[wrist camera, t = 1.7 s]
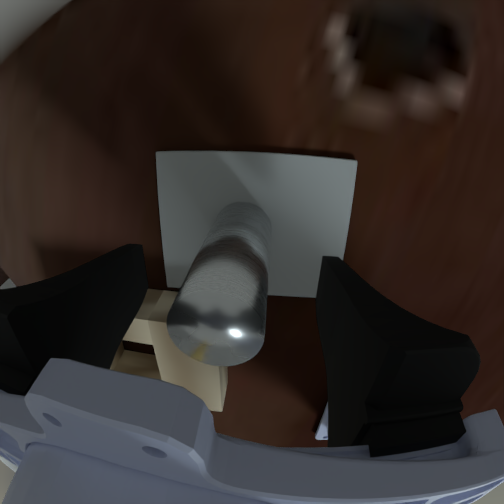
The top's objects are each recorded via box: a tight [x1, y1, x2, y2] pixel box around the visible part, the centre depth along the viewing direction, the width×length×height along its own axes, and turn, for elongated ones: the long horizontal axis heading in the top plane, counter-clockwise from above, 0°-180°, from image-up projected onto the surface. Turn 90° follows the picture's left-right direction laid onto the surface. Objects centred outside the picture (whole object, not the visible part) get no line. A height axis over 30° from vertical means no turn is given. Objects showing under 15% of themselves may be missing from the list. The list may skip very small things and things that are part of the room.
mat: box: [156, 151, 357, 298], centre depth 16 cm, size 10×8×1 cm
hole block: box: [110, 289, 228, 412], centre depth 19 cm, size 12×8×3 cm, turn 88°
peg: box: [166, 202, 272, 366], centre depth 13 cm, size 3×3×8 cm
